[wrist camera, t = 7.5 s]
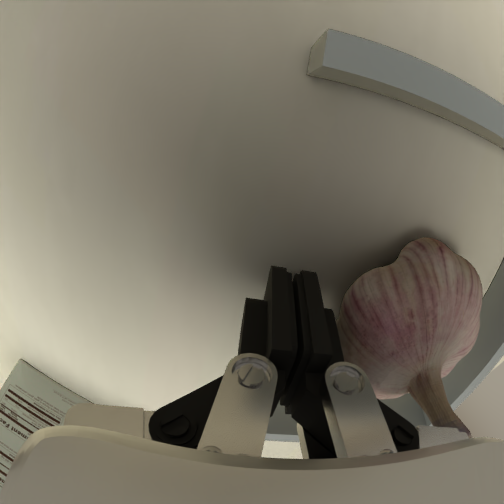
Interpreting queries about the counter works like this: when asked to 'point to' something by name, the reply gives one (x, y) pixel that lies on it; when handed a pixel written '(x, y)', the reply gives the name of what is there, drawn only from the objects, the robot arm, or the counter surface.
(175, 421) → the robot arm
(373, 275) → the garlic bulb
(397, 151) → the counter surface
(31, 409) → the supplement box
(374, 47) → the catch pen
